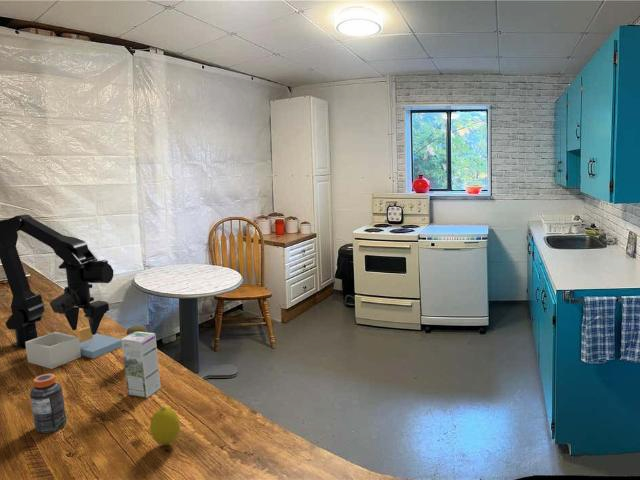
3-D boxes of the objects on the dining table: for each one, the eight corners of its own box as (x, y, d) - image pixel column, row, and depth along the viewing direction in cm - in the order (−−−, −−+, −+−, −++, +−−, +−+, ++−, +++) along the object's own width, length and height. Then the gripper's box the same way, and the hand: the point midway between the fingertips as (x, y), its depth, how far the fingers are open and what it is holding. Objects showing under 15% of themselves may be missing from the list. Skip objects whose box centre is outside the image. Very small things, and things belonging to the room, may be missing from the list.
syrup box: (161, 387, 122) (156, 331, 120) (146, 399, 117) (140, 340, 114) (142, 385, 124) (137, 329, 121) (126, 396, 118) (120, 338, 116)
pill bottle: (59, 416, 110) (53, 368, 108) (71, 424, 106) (65, 375, 104) (30, 428, 106) (23, 378, 104) (42, 437, 102) (35, 386, 100)
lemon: (156, 438, 100) (152, 401, 99) (183, 435, 101) (180, 399, 99) (149, 454, 95) (145, 415, 93) (178, 451, 95) (175, 413, 94)
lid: (67, 351, 148) (64, 333, 147) (97, 339, 157) (95, 322, 156) (93, 358, 142) (91, 339, 141) (123, 345, 151) (121, 328, 150)
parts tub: (27, 362, 141) (25, 342, 140) (57, 350, 149) (55, 331, 148) (51, 368, 136) (48, 348, 135) (81, 356, 143) (78, 337, 142)
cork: (144, 369, 133) (140, 330, 131) (123, 368, 134) (119, 330, 132) (155, 360, 139) (152, 323, 137) (136, 359, 140) (132, 322, 138)
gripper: (33, 286, 146) (40, 336, 148) (73, 292, 137) (79, 346, 139) (67, 277, 155) (73, 324, 158) (107, 283, 146) (113, 333, 149)
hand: (84, 332), depth 151 cm, fingers open, 9 cm apart
